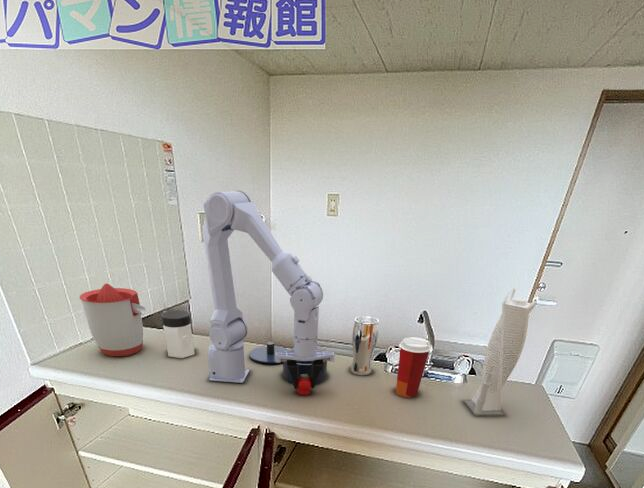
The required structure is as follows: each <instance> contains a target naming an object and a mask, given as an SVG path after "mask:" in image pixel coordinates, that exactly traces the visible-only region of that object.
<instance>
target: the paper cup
mask: <svg viewBox="0 0 644 488" xmlns="http://www.w3.org/2000/svg"><path fill="white" fill-rule="evenodd" d="M398 347H399V348H400V349H399V358H398V367H397V376H396V386H395V393H396V394H397V395H398V396H400V397H403V398H414V397H416V396H417V395H418V392H419V390H420V385H421V383H422V378H423V375H424V372H425V371H424V370H425V367H426V363H427V360H428V357H429V353H430V351H431V350H432V347H431V343H430V341H429V340H427V339H425V338H422V337H416V336H412V337H411V336H409V337H405V338H403V339H402V340H401V341H400V343H399V344H398Z"/></svg>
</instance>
